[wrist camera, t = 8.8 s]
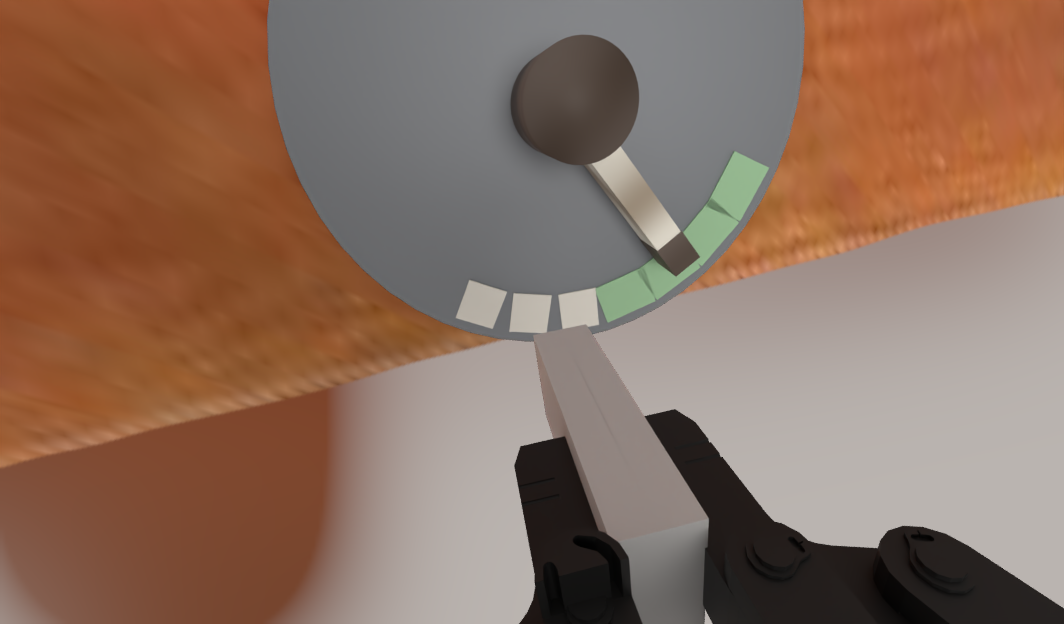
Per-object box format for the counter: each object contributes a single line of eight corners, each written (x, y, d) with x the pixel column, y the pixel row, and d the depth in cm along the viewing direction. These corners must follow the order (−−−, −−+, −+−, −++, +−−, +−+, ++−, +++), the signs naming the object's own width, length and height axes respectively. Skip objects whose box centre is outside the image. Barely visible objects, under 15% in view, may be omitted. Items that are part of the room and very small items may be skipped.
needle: (490, 99, 23) (498, 95, 19) (565, 26, 22) (593, 4, 18) (636, 280, 29) (671, 312, 24) (701, 226, 28) (749, 249, 23)
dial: (134, 47, 21) (126, 46, 20) (627, -472, 17) (633, -492, 16) (516, 411, 32) (517, 416, 32) (865, 147, 28) (873, 148, 28)
